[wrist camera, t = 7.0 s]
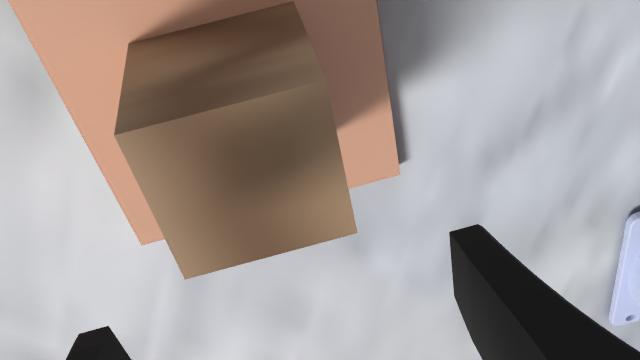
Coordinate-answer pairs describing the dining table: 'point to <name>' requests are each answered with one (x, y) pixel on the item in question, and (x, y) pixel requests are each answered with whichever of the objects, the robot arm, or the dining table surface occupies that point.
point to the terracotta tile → (192, 10)
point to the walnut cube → (234, 140)
